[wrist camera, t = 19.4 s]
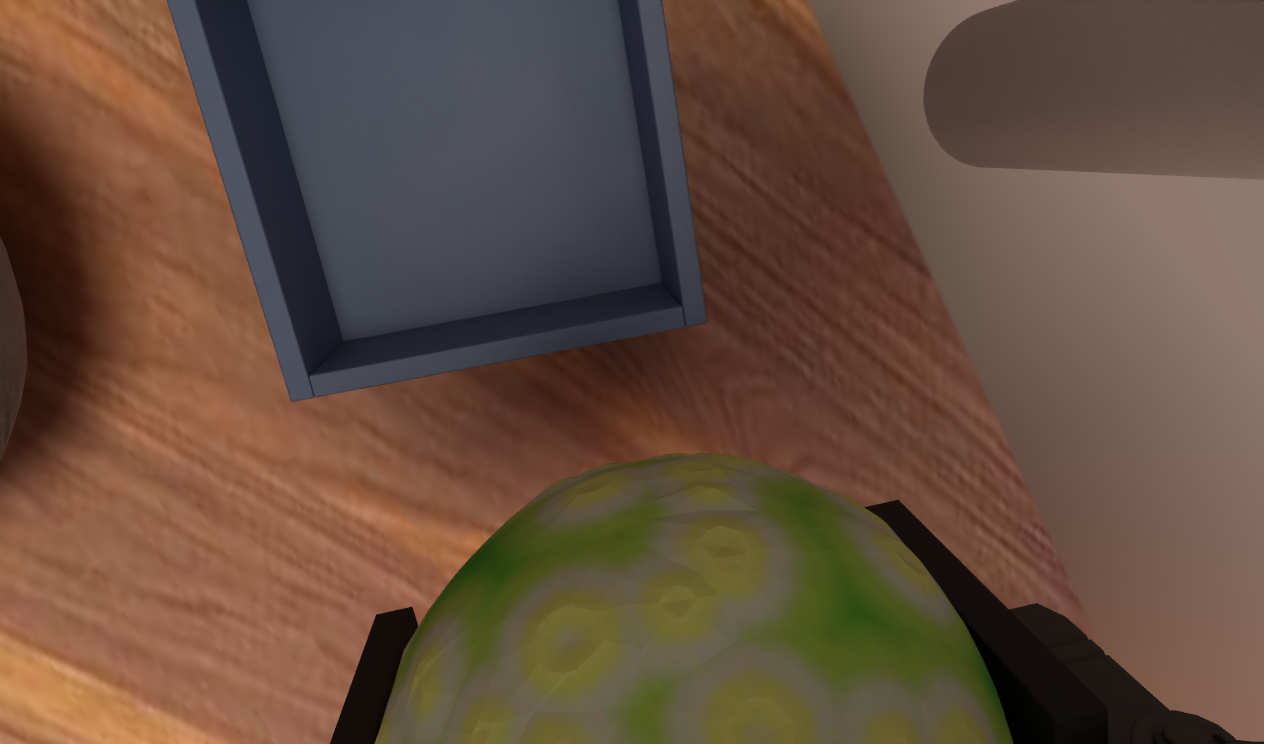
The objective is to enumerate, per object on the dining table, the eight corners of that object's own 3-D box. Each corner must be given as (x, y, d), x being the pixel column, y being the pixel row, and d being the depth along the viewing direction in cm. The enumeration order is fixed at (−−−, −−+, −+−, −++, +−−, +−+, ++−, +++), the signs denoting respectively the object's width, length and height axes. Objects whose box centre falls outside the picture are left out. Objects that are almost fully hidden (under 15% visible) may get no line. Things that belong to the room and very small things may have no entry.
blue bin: (622, -91, 29) (641, -148, 23) (680, 294, 33) (708, 323, 28) (222, -28, 28) (143, -72, 22) (334, 358, 32) (290, 402, 27)
